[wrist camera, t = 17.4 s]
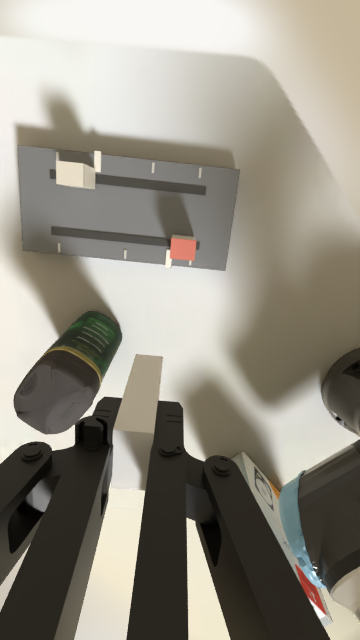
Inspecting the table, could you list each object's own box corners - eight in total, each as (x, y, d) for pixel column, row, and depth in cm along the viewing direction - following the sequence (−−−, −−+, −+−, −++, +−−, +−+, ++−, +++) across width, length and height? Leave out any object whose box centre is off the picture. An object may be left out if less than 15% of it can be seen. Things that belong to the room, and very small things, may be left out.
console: (236, 169, 45) (240, 166, 42) (222, 269, 49) (225, 273, 46) (27, 146, 44) (16, 142, 41) (32, 250, 48) (22, 252, 45)
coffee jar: (89, 301, 51) (40, 351, 33) (130, 331, 52) (105, 394, 35) (55, 346, 53) (-7, 415, 36) (96, 374, 55) (56, 452, 37)
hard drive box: (289, 500, 63) (335, 624, 45) (256, 519, 65) (287, 646, 46) (242, 448, 60) (272, 560, 41) (209, 470, 61) (221, 587, 42)
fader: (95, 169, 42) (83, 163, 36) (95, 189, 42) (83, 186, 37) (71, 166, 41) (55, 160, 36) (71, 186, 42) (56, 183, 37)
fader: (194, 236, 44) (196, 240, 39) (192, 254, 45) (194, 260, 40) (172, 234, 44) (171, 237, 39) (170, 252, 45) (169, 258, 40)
